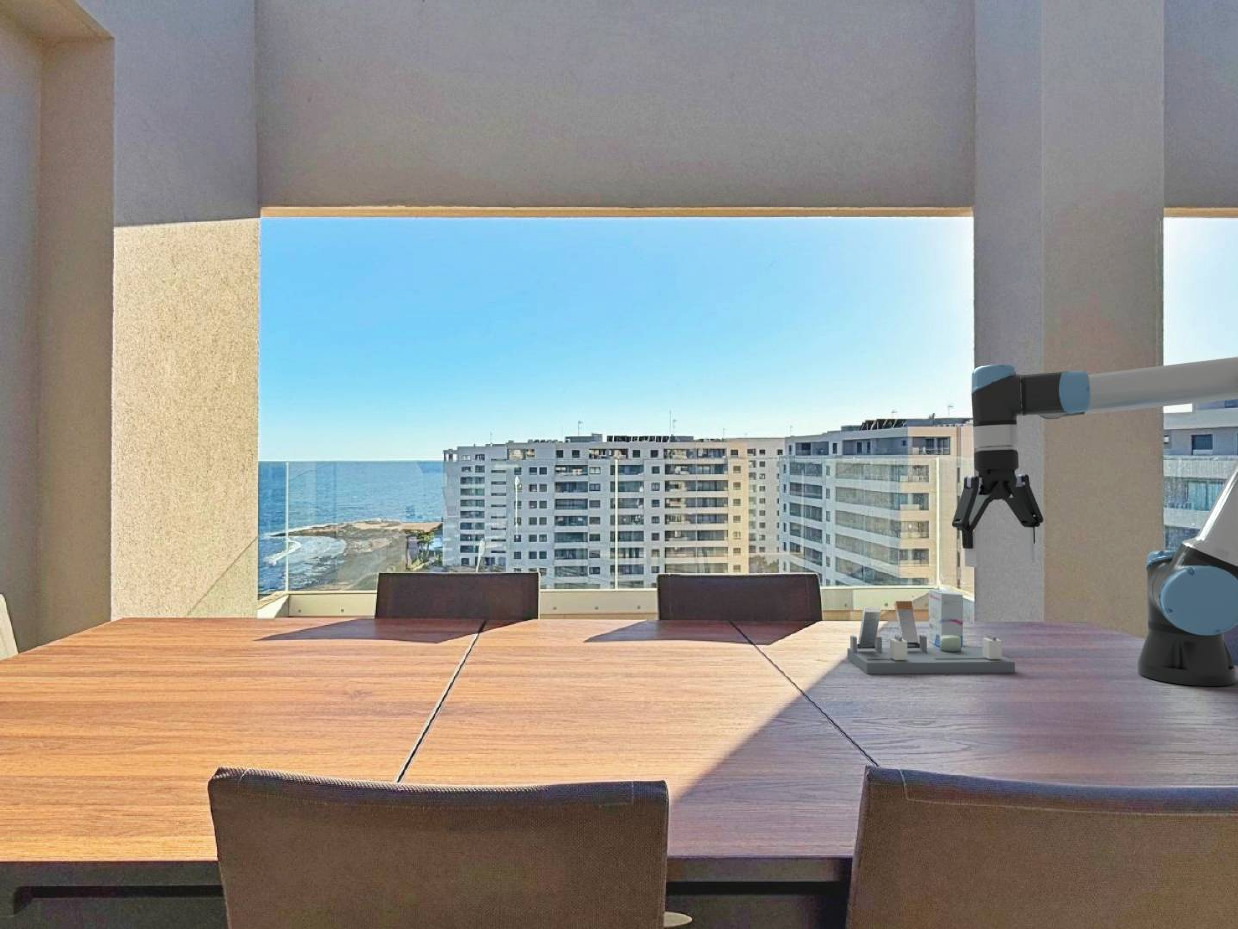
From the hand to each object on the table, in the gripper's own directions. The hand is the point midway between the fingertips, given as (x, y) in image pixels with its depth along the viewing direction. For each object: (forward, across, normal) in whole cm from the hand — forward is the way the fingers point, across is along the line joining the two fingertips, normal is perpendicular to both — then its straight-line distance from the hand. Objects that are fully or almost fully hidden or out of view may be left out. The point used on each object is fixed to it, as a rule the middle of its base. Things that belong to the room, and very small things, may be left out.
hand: (1000, 564), depth 161 cm
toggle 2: (+17, +5, -19) cm, 26 cm away
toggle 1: (+17, +13, -23) cm, 31 cm away
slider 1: (+18, +13, -14) cm, 26 cm away
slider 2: (+19, -4, -6) cm, 20 cm away
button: (+18, -2, -16) cm, 24 cm away
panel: (+20, +5, -15) cm, 26 cm away
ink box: (+21, -14, -28) cm, 38 cm away
